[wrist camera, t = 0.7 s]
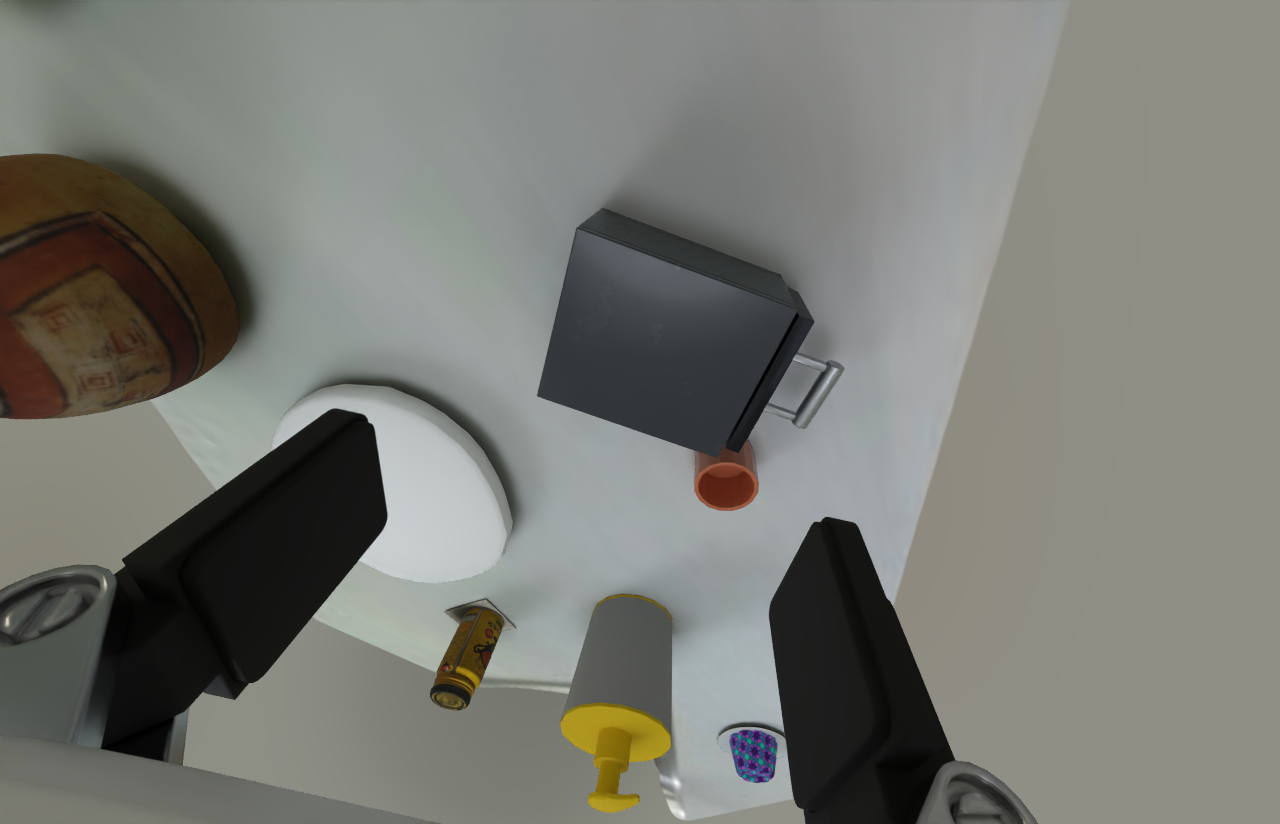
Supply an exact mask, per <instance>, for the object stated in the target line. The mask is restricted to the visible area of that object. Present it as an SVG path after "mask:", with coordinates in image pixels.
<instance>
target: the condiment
mask: <svg viewBox="0 0 1280 824" xmlns="http://www.w3.org/2000/svg"><path fill="white" fill-rule="evenodd" d="M444 613H446V614H447V615H449V616H450V617H451V618H452V619H453V620H455V621H456V622H457V623H458V624H459V627H458V629H457V631H456V633H455V635H454V637H453V639H452V641H451V643H450V645H449V647H448V649H447V651H446V653H445V655H444V658H443V660H442V661H441V664H440V666H439V668H438V670H437V678H436V679H435V683H434V686H433V688H432V689H431V692H430V697H431V699H432V701H433V702H434V703H436V704H437V705H439V706H440V707H443V708H446V709H449V710H462V709H465V708H466V707H467V706H468V705H469V703H470V700H471V697H472V696H473V694H474V690H475V689H476V688H477V687H479V685H480V683H481V680H482V679H483V676H484V673H485V670H486V668H487V666H488V663H489V661H490V659H491V655H492V653H493V651H494V649H495V646H496V643H497V641H498V638H499V636H500V633H501V631H504V630H509V629H513V628H515V627H514V626H513V625H512V624H511V623H510V622H509V621H508V620H507V619H506V618H505V617H504V616H503V615H502V614H501V613H500V612H499V611H498V610H497V609H496V608H495V607H494V606H492V605H491V604H490V603H489V602H488V601H487V600H482V601H478V602H475V603H470V604H467V605H465V606H462V607H458V608H454V609H451V610H449V611H445V612H444Z"/></svg>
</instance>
